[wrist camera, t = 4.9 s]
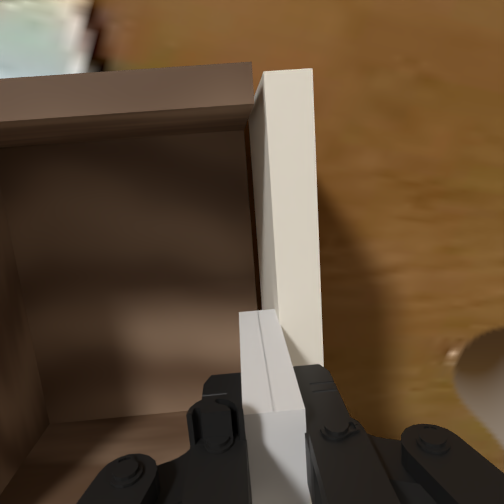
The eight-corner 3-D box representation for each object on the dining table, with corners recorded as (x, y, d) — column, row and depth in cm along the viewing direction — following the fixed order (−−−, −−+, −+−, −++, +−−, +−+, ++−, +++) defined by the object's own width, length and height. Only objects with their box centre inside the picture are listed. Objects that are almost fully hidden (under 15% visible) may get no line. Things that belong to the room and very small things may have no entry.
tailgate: (291, 412, 27) (331, 573, 17) (269, 414, 27) (295, 578, 17) (274, 111, 23) (312, 68, 12) (247, 113, 23) (263, 71, 12)
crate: (263, 406, 29) (287, 584, 17) (44, 427, 28) (-96, 626, 16) (241, 111, 24) (251, 61, 12) (-19, 130, 24) (-276, 97, 12)
